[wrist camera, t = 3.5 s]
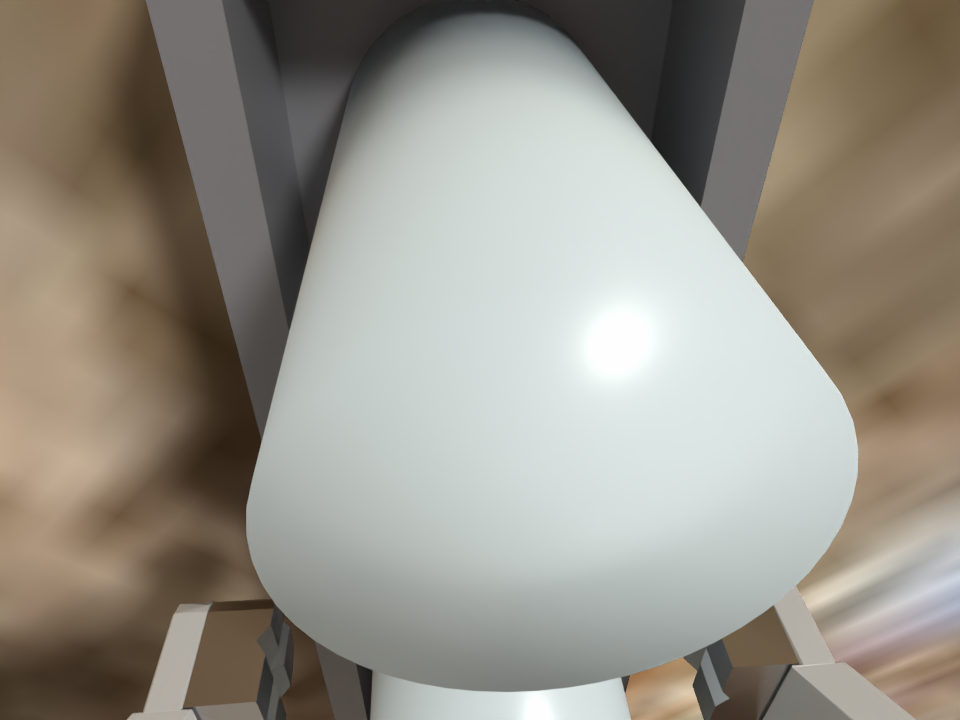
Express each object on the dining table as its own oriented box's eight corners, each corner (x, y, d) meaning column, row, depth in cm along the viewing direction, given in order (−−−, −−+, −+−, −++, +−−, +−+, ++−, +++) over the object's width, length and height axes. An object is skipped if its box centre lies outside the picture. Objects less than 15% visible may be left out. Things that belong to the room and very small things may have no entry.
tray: (729, -177, 9) (1629, -198, 2) (579, 662, 21) (650, 1026, 14) (195, -180, 8) (-578, -223, 2) (363, 677, 20) (339, 1059, 14)
